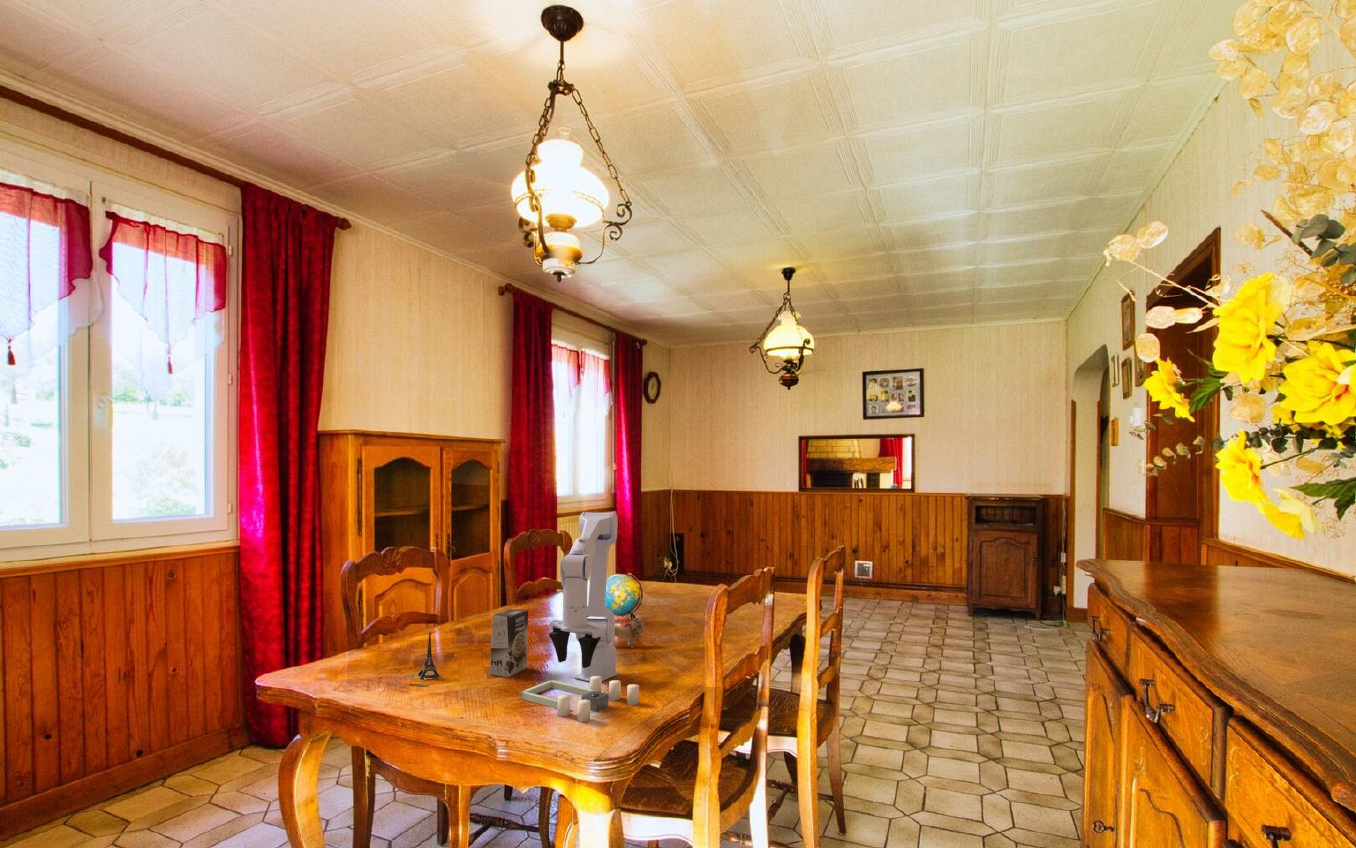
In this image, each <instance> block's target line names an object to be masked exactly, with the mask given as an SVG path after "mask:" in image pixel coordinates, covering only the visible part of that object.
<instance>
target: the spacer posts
mask: <svg viewBox="0 0 1356 848" xmlns="http://www.w3.org/2000/svg"><path fill="white" fill-rule="evenodd" d="M621 682H622V681H621V680H617V679H615V680H614V679H613V680H610V681H609V682H608V685H609V686H608V689H609V690H608V701H613V702H614V701H615V702H617V701H620V700H621V688H622V687H621V684H622V683H621ZM589 689H591V690H595V691H597V692H601V693H602V681H601V677H600V676H592V677H590V682H589ZM626 689H627V691H626V694H627V695H626V705H628V706H638V705H639V704H640V685H639V684H633V683H632V684H631V683H630V684H628V685H627V688H626ZM557 700H558V708H557V717H561V718H563V717H564V718H565V717H568V716H570V715H571V695H570V694H559V695H558V696H557ZM590 703H591V701H590V700H586V699H584V700H581V699H580V700H578V701H577V722H578V723H588V722H590V721H591V711H590Z"/></svg>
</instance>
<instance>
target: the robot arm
mask: <svg viewBox="0 0 1356 848" xmlns="http://www.w3.org/2000/svg"><path fill="white" fill-rule="evenodd" d="M618 522H619V521H618V514H616V512H615V511H614V512H613V511H612V512H586V511H582V513H581V514H580V515H579V521H578V528H579V529H578V530H579V532H580V537H578V538H576V539H575V541H574V543H573V544H572V547H571V549H570V551H569V553H568V554H566V555H565V556H562V557H561V561H560V566H559V567H560V568H559V570H560V571H559V573H560V577H561V583H560V584H561V587H562V588H563V589H562V590H563V591H562V620H558V619H554V620H550V621H549V630H552V631H551V632H549V633H548V637H549V639H550V640H551V641H552V644H553V647H554V649H555V653H556V658H557V662H558V663H564V662H565V661H567V657H568V644H569V638H570V634H571V633H573V634H575V639H576V641H577V642H578V643H579V646H580V653H581V669H580V670H581V672H580V673H578V674H576V675H574V676H573V678H574V679H577V680H581V681H585V682H589V683H590V677H592V676H600V677H601V682H603V681H606V680H608V679H610V678H613V677H615V676H617V675H619V672H617V671H616V670H617V669H616V668H617V649H616V646H615V644H614V642H613V641H614V639H615V635H614V634H615V626H616V624H615V614H614V613H613V611H612V610H610V609H609V608H608V607H607V606H606V599H607V598H606V597H607V585H608V584H607V581H608V567H609V565H608V564H609V553H610V548H611V546H612V545H614V544H616V542H617V539H618ZM588 581H589V584H588ZM588 585H589V588H588ZM590 617H593V618H590ZM594 617H595V618H594ZM597 617H598V618H597ZM599 617H600V618H599Z"/></svg>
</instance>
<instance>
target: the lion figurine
mask: <svg viewBox="0 0 1356 848" xmlns="http://www.w3.org/2000/svg"><path fill="white" fill-rule="evenodd" d="M644 629H645V619H644V618H643V617H640V616H637V617H634V618H633V619H632V620H631V621H630V622H628V623H627V624H626V625H623V626H618V625H615V634H614V637H616V638H619V639H627V645H628V646H629V645H630V646H629V647H630V648H631V649H635V648H634V647H635V646H634V639H636V638H639V636H641V634H642V633H643V632H644Z"/></svg>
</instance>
